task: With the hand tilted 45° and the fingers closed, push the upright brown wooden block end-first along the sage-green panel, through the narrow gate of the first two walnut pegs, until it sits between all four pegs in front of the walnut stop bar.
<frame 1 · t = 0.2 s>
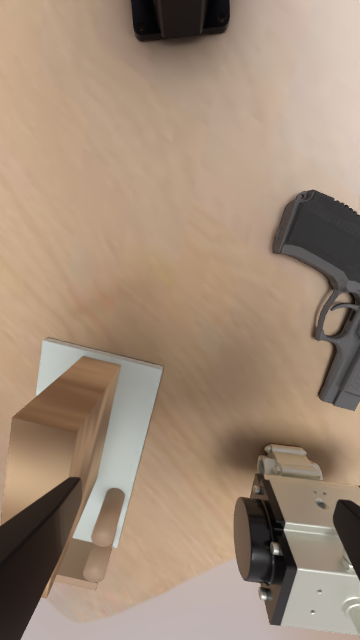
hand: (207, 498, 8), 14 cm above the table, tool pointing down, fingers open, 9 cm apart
panel: (87, 449, 25), on the table
pneumatic valve: (281, 452, 24), on the table
brown wooden block: (90, 421, 23), point 1 cm above the table, touching panel
handgun: (317, 305, 21), on the table
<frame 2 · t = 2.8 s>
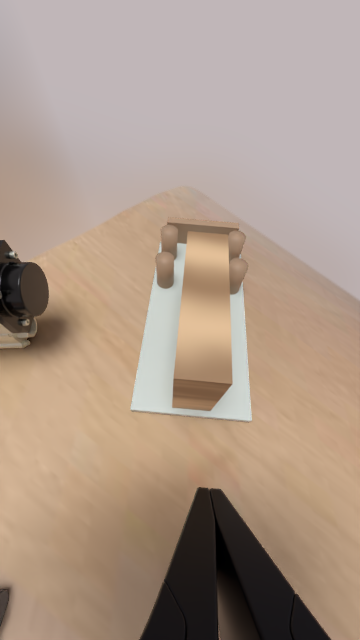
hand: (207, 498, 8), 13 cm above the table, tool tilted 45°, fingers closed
panel: (195, 316, 28), on the table
pneumatic valve: (14, 339, 26), on the table
brown wooden block: (194, 344, 25), point 1 cm above the table, touching panel
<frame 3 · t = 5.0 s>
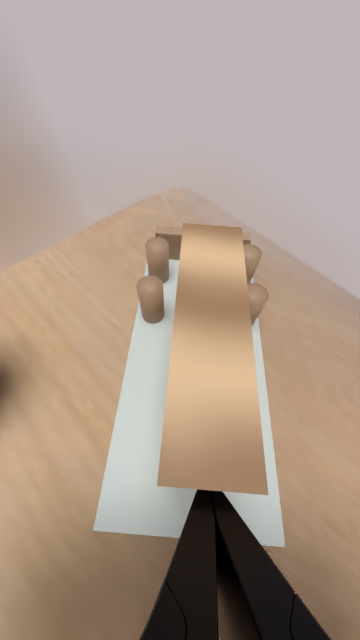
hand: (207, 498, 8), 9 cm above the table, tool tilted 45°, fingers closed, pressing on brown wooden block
panel: (195, 362, 20), on the table
brown wooden block: (195, 378, 19), point 1 cm above the table, touching gripper, panel
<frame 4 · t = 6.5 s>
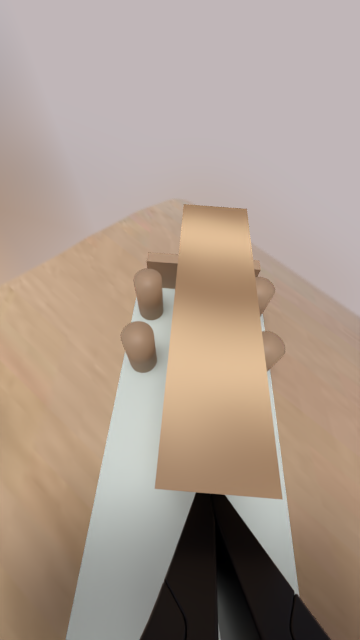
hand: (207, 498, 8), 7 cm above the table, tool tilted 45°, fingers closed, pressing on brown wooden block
panel: (193, 423, 17), on the table
brown wooden block: (196, 373, 18), point 1 cm above the table, touching gripper, panel
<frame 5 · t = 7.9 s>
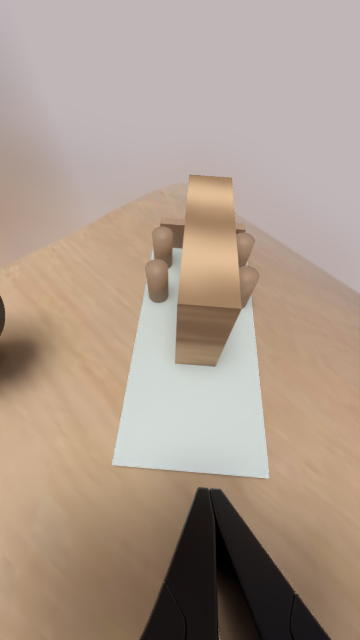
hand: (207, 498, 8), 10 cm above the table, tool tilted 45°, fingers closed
panel: (195, 336, 23), on the table
brown wooden block: (197, 303, 24), point 1 cm above the table, touching panel
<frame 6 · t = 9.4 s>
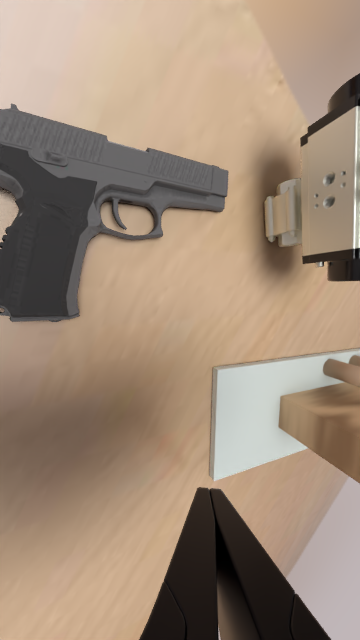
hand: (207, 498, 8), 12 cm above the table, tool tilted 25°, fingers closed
panel: (295, 403, 27), on the table
pneumatic valve: (271, 220, 23), on the table
brown wooden block: (321, 401, 28), point 1 cm above the table, touching panel
handgun: (121, 238, 18), on the table
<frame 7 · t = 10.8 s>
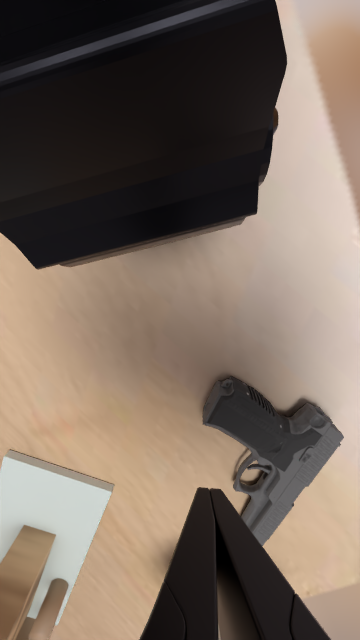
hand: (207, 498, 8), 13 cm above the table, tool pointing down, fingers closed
panel: (38, 541, 27), on the table
brown wooden block: (27, 570, 27), point 1 cm above the table, touching panel
handgun: (240, 453, 24), on the table
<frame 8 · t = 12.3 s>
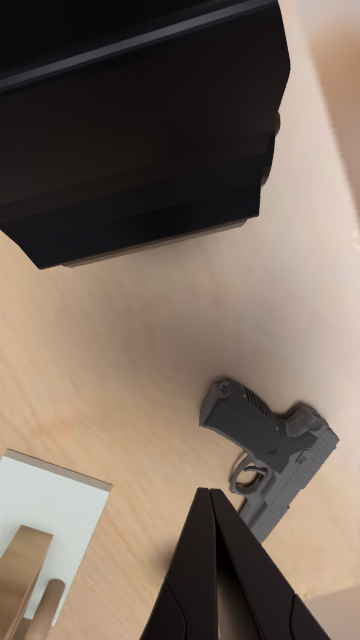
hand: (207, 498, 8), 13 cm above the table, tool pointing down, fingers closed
panel: (35, 541, 27), on the table
brown wooden block: (23, 570, 27), point 1 cm above the table, touching panel
handgun: (237, 455, 24), on the table
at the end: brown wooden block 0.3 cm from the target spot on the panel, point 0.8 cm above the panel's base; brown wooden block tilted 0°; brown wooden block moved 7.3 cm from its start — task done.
